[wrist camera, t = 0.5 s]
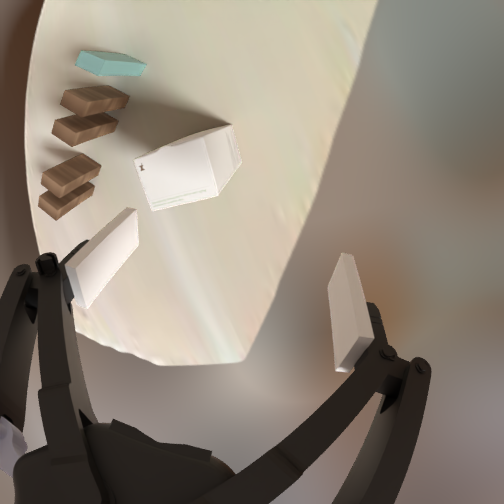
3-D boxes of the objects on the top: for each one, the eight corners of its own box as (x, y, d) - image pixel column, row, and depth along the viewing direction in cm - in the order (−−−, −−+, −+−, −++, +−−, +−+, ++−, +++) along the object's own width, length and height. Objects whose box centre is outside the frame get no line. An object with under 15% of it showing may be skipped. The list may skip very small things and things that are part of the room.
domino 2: (98, 109, 37) (55, 119, 27) (118, 120, 38) (76, 133, 28) (94, 120, 38) (51, 133, 29) (113, 131, 39) (71, 146, 30)
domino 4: (77, 173, 44) (39, 195, 34) (94, 185, 45) (57, 210, 35) (75, 183, 45) (38, 206, 36) (92, 195, 46) (56, 220, 37)
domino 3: (83, 153, 41) (42, 172, 32) (101, 165, 42) (61, 187, 33) (80, 163, 42) (40, 183, 33) (98, 175, 43) (59, 198, 34)
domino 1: (109, 85, 34) (64, 90, 25) (129, 96, 35) (87, 102, 26) (104, 96, 35) (59, 104, 26) (124, 108, 36) (81, 117, 27)
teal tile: (124, 54, 31) (81, 50, 22) (146, 64, 32) (105, 60, 23) (118, 65, 32) (74, 65, 23) (140, 76, 33) (97, 75, 24)
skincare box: (193, 174, 42) (148, 215, 28) (181, 134, 38) (128, 159, 25) (245, 162, 40) (219, 199, 26) (234, 120, 36) (201, 135, 23)
